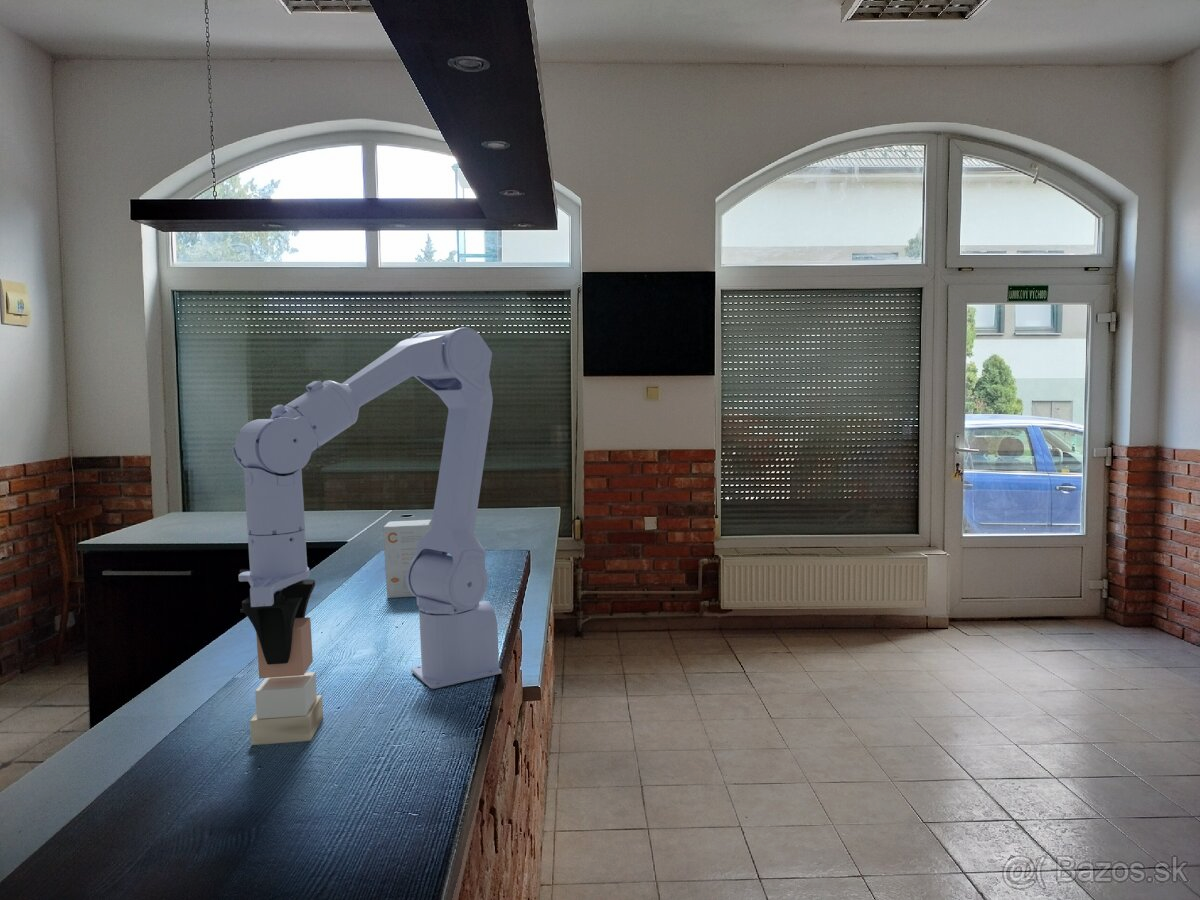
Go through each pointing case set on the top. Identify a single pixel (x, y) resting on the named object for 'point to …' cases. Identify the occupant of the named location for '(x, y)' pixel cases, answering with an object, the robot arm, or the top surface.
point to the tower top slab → (286, 696)
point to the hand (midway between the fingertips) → (284, 655)
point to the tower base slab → (287, 726)
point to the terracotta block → (298, 655)
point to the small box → (401, 553)
